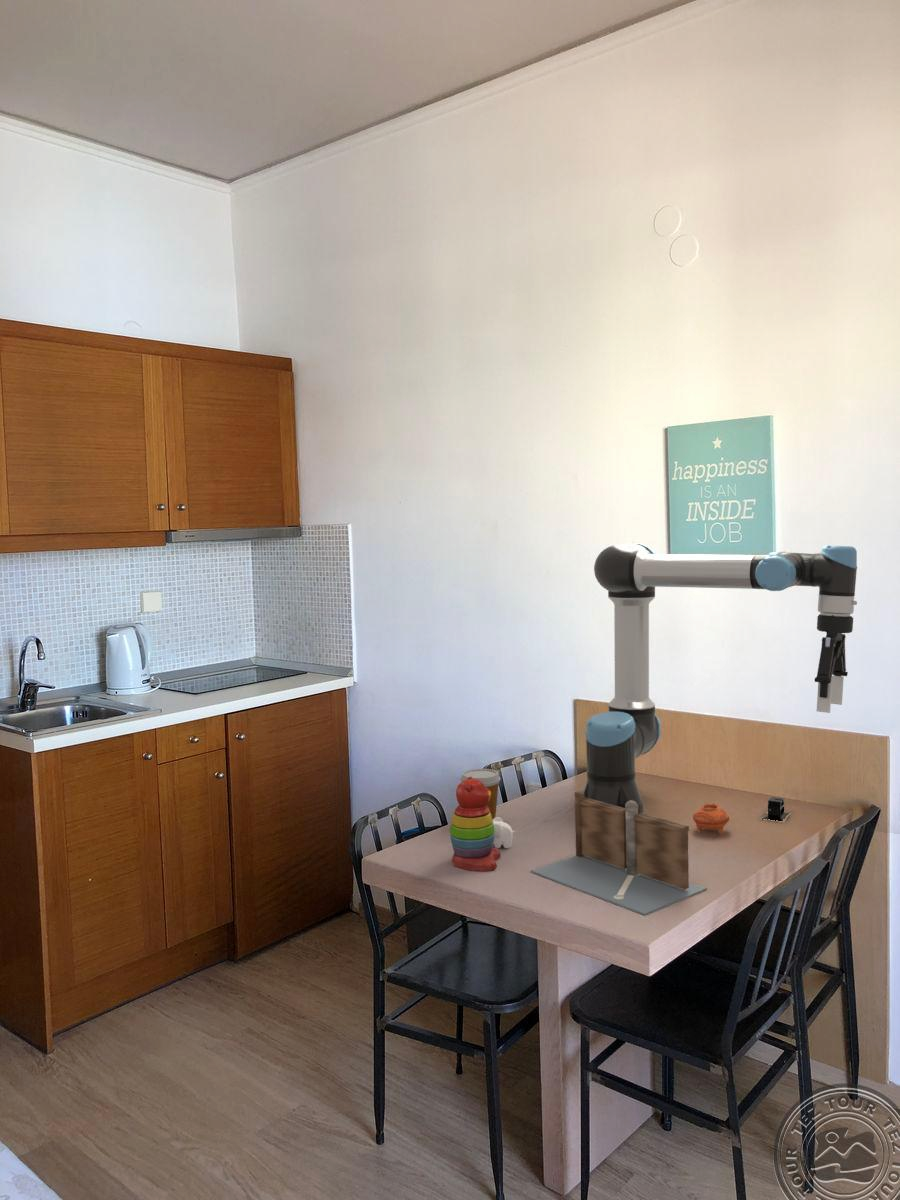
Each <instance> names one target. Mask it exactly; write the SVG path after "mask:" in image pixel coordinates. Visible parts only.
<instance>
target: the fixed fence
mask: <svg viewBox="0 0 900 1200" xmlns="http://www.w3.org/2000/svg"><path fill="white" fill-rule="evenodd" d="M635 814H638V804H637V803H636V802H635V801H632V800H630V801H628V802H627V803H626V804H625V808H622V807H618V806H615V805H611V804H607V803H604V802H600V801H597V800H593V799H589V798H584V792H583V791H574V826H575V831H574V832H575V833H574V834H575V856H578V857H583V856H587V857H590V858H593V859H596V860H599V861H602V862H605V863H608V864H611V865H614V866H617V867H620V868H623V869H626V868H627V874H629V875H637V874H638V873H637V853H636V820H635Z"/></svg>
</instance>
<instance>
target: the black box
mask: <svg viewBox="0 0 900 1200" xmlns="http://www.w3.org/2000/svg"><path fill="white" fill-rule="evenodd" d="M767 811H768V814H766V815H765V816H764V817H763V816H762V817H763V818H762V817H761V818H762V820H761V821H763V819H767V820H768V819H770V820H775V821H776V820H778V821H783V819H785V818H786V816H787V815H788V814H789V813H790V812H791V811H787V812H784V811H785V798H784V797H776V796H770V798H769V799H768V801H767Z"/></svg>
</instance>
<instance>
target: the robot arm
mask: <svg viewBox="0 0 900 1200" xmlns="http://www.w3.org/2000/svg"><path fill="white" fill-rule="evenodd" d="M857 554H858V551H857V549H856V548H855V547H854V546H850V545H845V546H844V545H824V546H822V548H821V550H820V552H819V553H803V552H790V551H789V552H786V551H779V552H778V551H776V552H775V551H774V552H773V551H772V552H768V554H763V555H762V554H761V555H760V554H757V555H755V554H754V555H752V554H747V555H746V554H662V553H661V554H658V553H656V551H655V550H654V549H652V547H650V546H648V545H645V544H643V543H635V542H632V543H629V542H627V543H623V544H615V545H611V546H608V547H606V548H604V549H603V550H602V551H601V552H600V553H599V554H598V555H597V557H596V559H595V561H594V566H593V572H594V576H595V578H596V580H597V582H598V584H599V585H600V586H601V587H602V588H603V589H605V590H606V591H607V592H608V593H607V594H608V595H607V596H608V599H609V600H611V602H612V603H613V604H614V606H613V607H614V613H613V614H614V615H613V617H614V619H613V620H614V624H613V626H614V628H613V629H614V630H613V631H614V697H613V698H612V700H610V701H609V702H608V711H604V712H603V713H601V712H600V713H597V714H593V715H592V716H590V717H589V718H588V720H587V722H586V727H585V729H586V730H585V733H584V734H585V746H586V747H585V749H586V750H585V751H586V753H585V754H586V782H585V786H584V790H583V791H582V792H584V798H589V799H593V800H597V801H600V802H604V803H607V804H611V805H615V806H618V807H622V808H625V804H626V803H627V802H628V801H630V800H632V801H635V802H636V803H637V804H638V813H643V812H644V802H643V799H642V796H641V793H640V789H639V787H638V784H637V781H636V780H637V779H636V759H637V758H639V757H640V756H643V755H645V754H647V753H650V751H651V750H652V749H653V748H654V747H655V746H656V745H657V743H658V742H659V740H660V738H661V733H662V727H661V721H660V719H659V717H658V716H657V715H656V704H655V702H654V701H653V700H652V699H651V698H650V648H649V647H650V603H651V602H652V601H653V600H654V599H655V598H656V588H657V587H659V588H695V589H696V588H699V589H701V588H703V589H704V588H705V589H706V588H707V589H742V590H743V589H744V590H745V589H746V590H747V589H749V590H753V589H754V590H766V591H770V592H781V591H784V590H787V589H788V588H791V587H794V586H795V587H796V586H797V587H815V588H816V587H817V588H818V589H819V591H818V598H817V599H818V600H817V601H818V602H817V612H818V613H819V614H818V615H817V616H816V617H817V618H816V619H817V620H816V621H817V622H816V629H817V631H819V632H825V633H826V635H825V637H824V636H823V637H821V638H822V639H821V648H820V649H821V650H820V654H819V655H820V656H819V662H818V665H817V667H818V668H817V673H816V677H814V682H815V683H817V697H816V698H817V701H816V712H817V713H826V714H827V713H828V714H830V713H831V707H832V706H831V705H838V706H839V705H840V706H841V705H843V693H844V692H843V691H844V677H848V671H847V667H846V664H847V663H846V637H847V636H846V634H851V633H853V630H854V629H853V628H854V627H853V626H854V617H853V616H851V615H853V614H854V611H855V609H854V607H855V606H857V604H858V601H857V600H855V596H856V584H857V583H856V581H857V569H858V565H857V564H858V563H857V562H858V561H857V558H858V557H857V556H858V555H857Z"/></svg>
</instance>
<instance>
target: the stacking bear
mask: <svg viewBox="0 0 900 1200" xmlns="http://www.w3.org/2000/svg"><path fill="white" fill-rule="evenodd" d="M455 789H456V791H455V796H456V800H457V803H458V806H457V807H456V808H455V809H454V811H453V813H452V816H451V821H450V822H451V823H450V826H449V827H450V828H449V829H450V830H449V833H450V834H449V836H450V841H451V842H450V843H451V845H452V850H453V855H452V858H451V863H452V865H454V866H455V867H457V868H460V869H463V870H470V871H476V872H478V871H479V872H490V871H494V870H496V869H497V867H498V863H497V862H496V860H499V859H500V858H501V851H500V850H499V848H498V849H497V848H495V847H494V834H495V833H494V831H495V829H494V824H493V821H492V816H491V813H490V809H489V808H488V806H487V805H486V804H487V803H488V802H489V801H490V798H491V796H492V794H491V791H489V790H488V789H487V788H486V787H485V785H484V784H483V783H482V782H481V781H480V780H477V779H472V777H468V779H467V780H464V781H460V783H459V784H458V785H457V787H456V788H455Z"/></svg>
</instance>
